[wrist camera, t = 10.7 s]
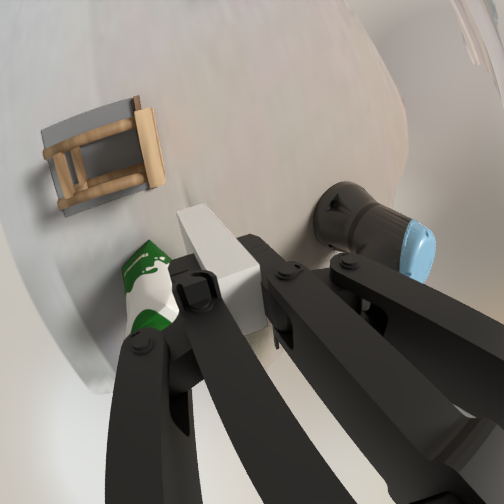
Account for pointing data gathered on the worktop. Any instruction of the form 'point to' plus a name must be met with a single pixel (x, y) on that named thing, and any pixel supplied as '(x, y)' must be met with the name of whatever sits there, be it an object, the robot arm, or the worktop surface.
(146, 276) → the milk carton
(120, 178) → the stool
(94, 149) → the mat
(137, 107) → the strip
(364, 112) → the worktop surface
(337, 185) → the robot arm
